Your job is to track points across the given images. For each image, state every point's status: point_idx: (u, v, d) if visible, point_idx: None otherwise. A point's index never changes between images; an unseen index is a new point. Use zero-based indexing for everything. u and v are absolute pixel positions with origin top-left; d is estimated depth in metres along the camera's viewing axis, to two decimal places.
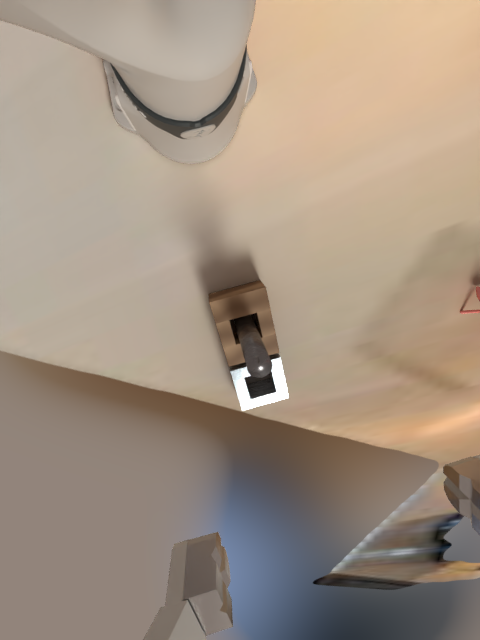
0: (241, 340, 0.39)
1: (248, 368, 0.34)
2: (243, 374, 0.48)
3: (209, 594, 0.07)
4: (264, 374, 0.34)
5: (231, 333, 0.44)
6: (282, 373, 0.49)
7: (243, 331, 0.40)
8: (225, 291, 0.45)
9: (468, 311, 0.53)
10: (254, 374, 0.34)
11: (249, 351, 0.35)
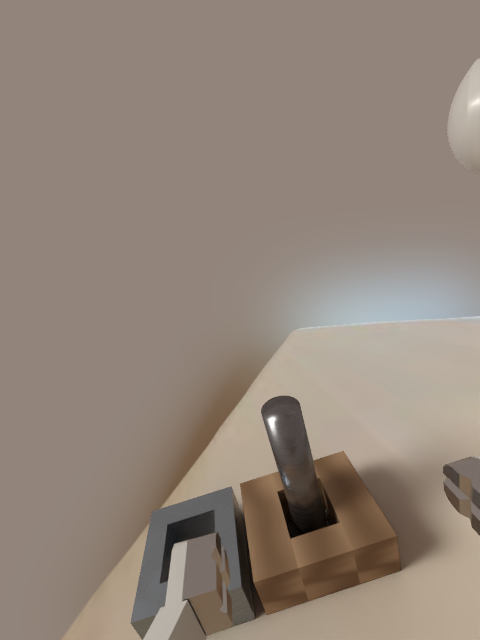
0: None
1: (278, 397, 0.24)
2: (220, 507, 0.28)
3: (209, 594, 0.07)
4: (266, 415, 0.22)
5: None
6: None
7: None
8: None
9: None
10: (267, 404, 0.23)
11: None
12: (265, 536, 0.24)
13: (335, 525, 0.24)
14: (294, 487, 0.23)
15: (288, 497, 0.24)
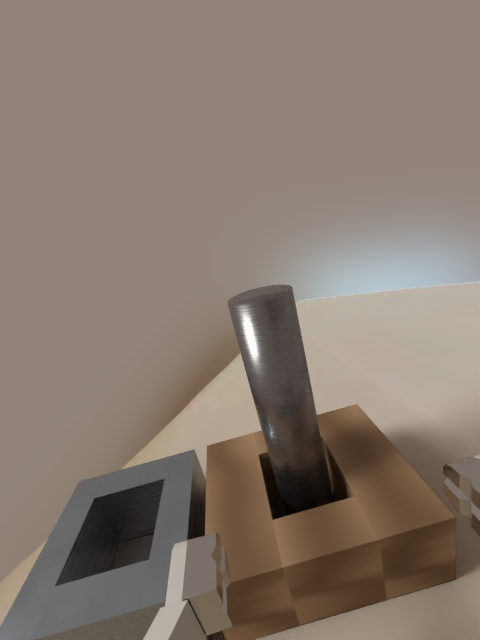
0: None
1: (258, 288, 0.15)
2: (173, 476, 0.19)
3: (209, 595, 0.07)
4: (234, 303, 0.13)
5: None
6: (111, 610, 0.12)
7: None
8: None
9: None
10: (240, 295, 0.14)
11: None
12: (233, 516, 0.15)
13: (347, 500, 0.15)
14: (280, 433, 0.14)
15: (271, 454, 0.15)
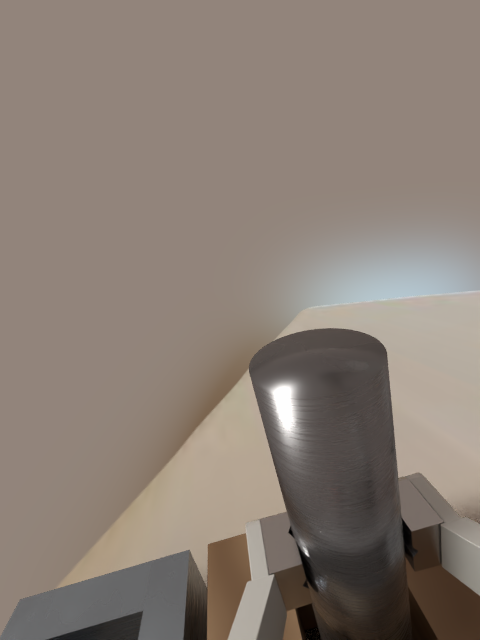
0: None
1: (302, 333, 0.08)
2: (157, 607, 0.12)
3: (295, 569, 0.08)
4: (264, 375, 0.06)
5: None
6: None
7: None
8: None
9: None
10: (270, 350, 0.08)
11: None
12: None
13: None
14: (347, 611, 0.07)
15: (323, 623, 0.09)
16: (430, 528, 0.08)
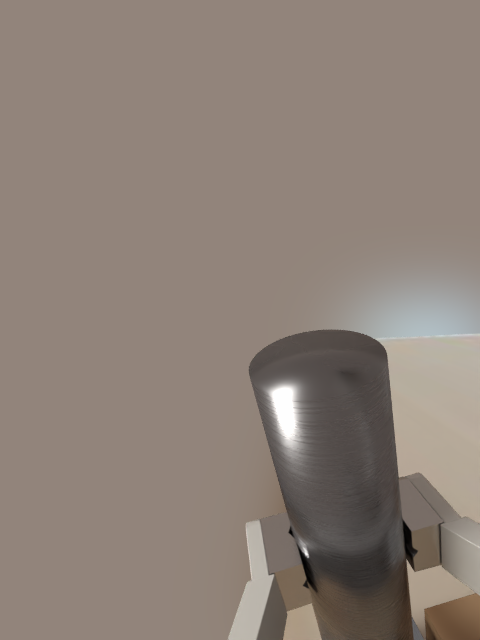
0: None
1: (302, 335, 0.08)
2: None
3: (295, 569, 0.08)
4: (264, 378, 0.06)
5: None
6: None
7: None
8: None
9: None
10: (270, 352, 0.07)
11: None
12: None
13: None
14: (347, 613, 0.07)
15: (324, 624, 0.09)
16: (430, 528, 0.08)
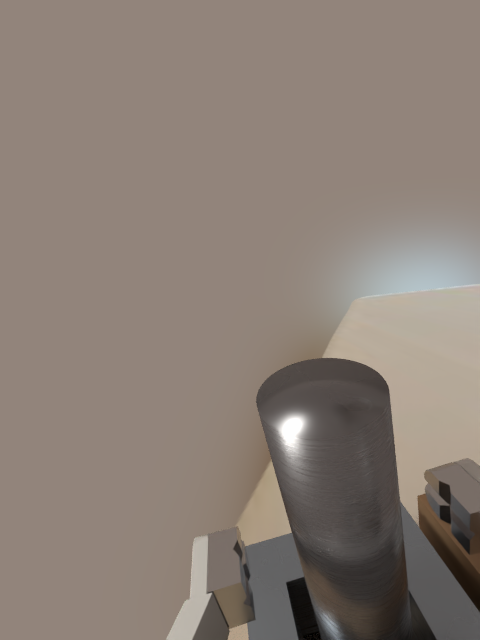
0: None
1: (307, 362, 0.08)
2: None
3: (234, 587, 0.07)
4: (271, 411, 0.07)
5: None
6: None
7: None
8: None
9: None
10: (276, 381, 0.08)
11: None
12: None
13: None
14: (351, 633, 0.08)
15: None
16: None
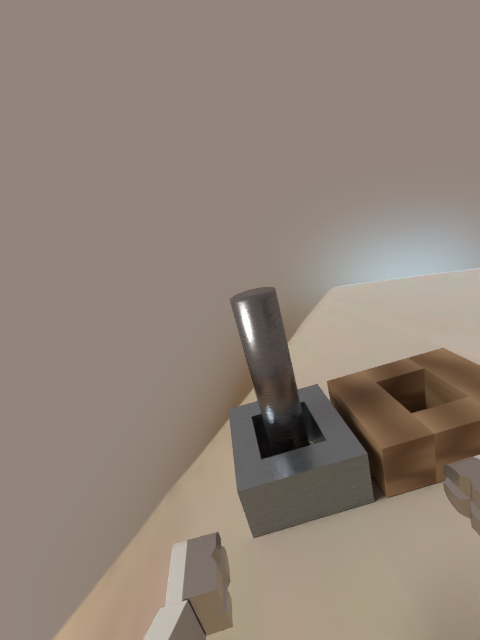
0: None
1: (252, 289, 0.20)
2: (311, 399, 0.25)
3: (209, 595, 0.07)
4: (234, 300, 0.18)
5: (397, 374, 0.25)
6: (318, 464, 0.18)
7: None
8: None
9: None
10: (238, 295, 0.20)
11: None
12: (378, 414, 0.21)
13: (464, 399, 0.20)
14: (268, 394, 0.20)
15: (263, 411, 0.21)
16: None
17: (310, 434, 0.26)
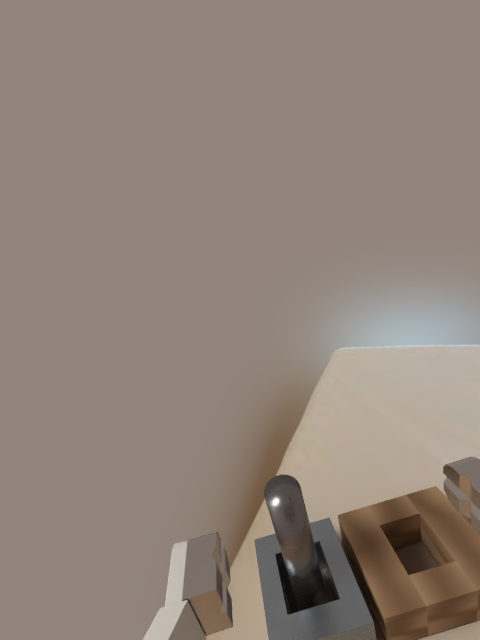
0: None
1: (280, 476, 0.25)
2: (325, 539, 0.30)
3: (209, 594, 0.07)
4: (268, 498, 0.23)
5: (397, 517, 0.30)
6: (334, 629, 0.23)
7: None
8: None
9: None
10: (270, 484, 0.24)
11: None
12: (382, 571, 0.26)
13: (451, 563, 0.25)
14: (293, 564, 0.24)
15: (288, 570, 0.26)
16: None
17: (323, 563, 0.31)
